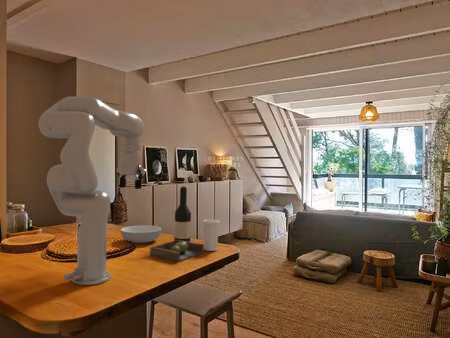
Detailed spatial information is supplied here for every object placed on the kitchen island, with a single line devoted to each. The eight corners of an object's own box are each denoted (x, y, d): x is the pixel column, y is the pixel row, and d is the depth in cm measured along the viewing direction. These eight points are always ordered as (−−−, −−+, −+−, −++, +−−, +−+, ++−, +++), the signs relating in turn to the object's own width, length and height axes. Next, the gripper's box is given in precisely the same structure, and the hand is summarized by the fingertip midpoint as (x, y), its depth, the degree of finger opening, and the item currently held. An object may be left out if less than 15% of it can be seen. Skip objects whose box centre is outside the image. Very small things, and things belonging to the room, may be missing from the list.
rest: (177, 262, 141) (177, 253, 141) (149, 256, 149) (150, 247, 149) (203, 253, 157) (203, 244, 157) (177, 247, 165) (177, 239, 165)
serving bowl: (149, 235, 191) (150, 223, 191) (168, 242, 175) (168, 229, 175) (114, 240, 178) (114, 227, 178) (130, 248, 162) (131, 234, 161)
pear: (190, 240, 154) (176, 248, 145) (190, 251, 154) (177, 259, 146) (180, 238, 157) (166, 246, 148) (181, 249, 157) (167, 257, 149)
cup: (210, 247, 168) (211, 218, 168) (222, 250, 163) (223, 221, 162) (198, 249, 163) (199, 220, 162) (210, 253, 157) (211, 222, 157)
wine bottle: (191, 243, 174) (193, 186, 174) (188, 247, 166) (189, 187, 166) (176, 242, 175) (177, 185, 175) (171, 246, 167) (173, 186, 166)
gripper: (111, 149, 149) (110, 187, 149) (138, 149, 140) (137, 189, 140) (124, 149, 155) (123, 186, 156) (151, 150, 146) (150, 188, 146)
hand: (130, 188), depth 148 cm, fingers open, 9 cm apart
